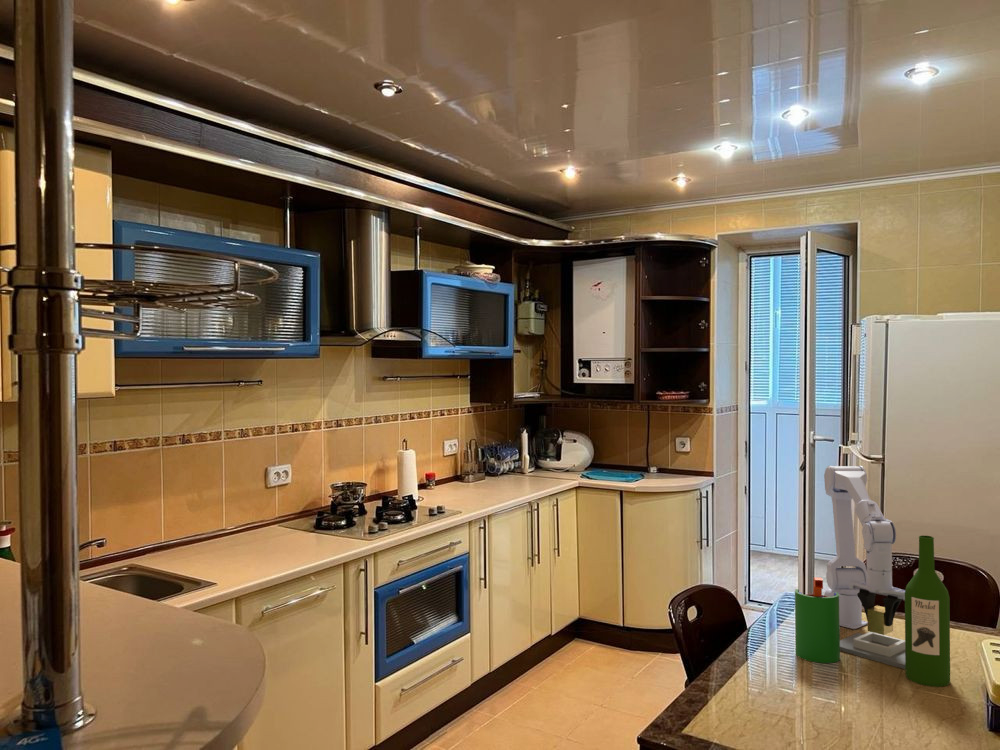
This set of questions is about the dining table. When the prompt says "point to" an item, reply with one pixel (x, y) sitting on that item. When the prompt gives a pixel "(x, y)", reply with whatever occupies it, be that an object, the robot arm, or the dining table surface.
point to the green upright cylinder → (817, 625)
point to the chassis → (876, 648)
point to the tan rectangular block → (878, 621)
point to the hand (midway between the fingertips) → (879, 623)
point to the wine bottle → (927, 622)
